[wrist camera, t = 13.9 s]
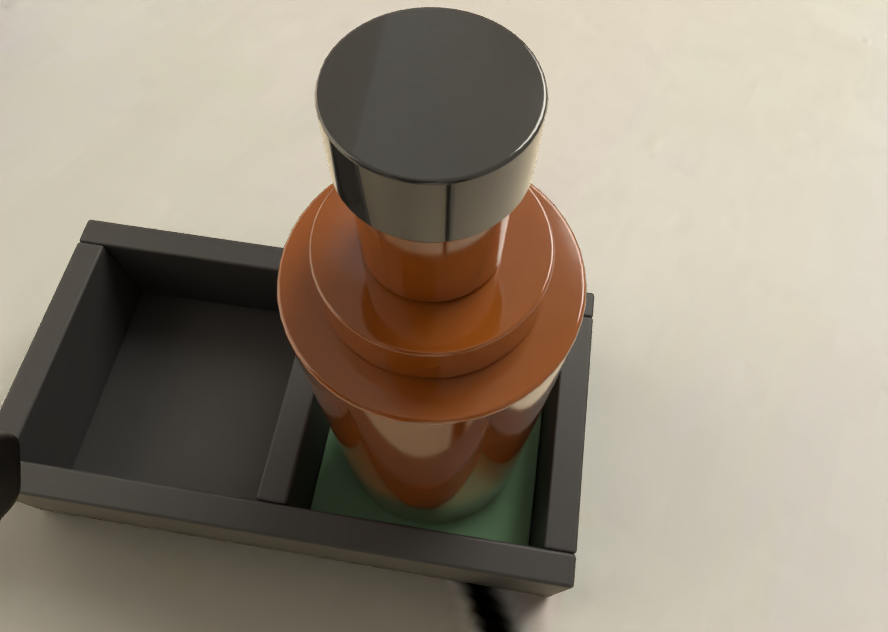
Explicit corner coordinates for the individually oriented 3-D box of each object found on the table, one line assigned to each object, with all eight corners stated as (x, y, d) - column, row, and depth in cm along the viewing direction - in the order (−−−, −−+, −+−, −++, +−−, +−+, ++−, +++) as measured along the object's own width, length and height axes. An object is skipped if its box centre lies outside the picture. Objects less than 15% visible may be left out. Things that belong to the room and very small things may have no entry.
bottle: (550, 476, 20) (765, 178, 7) (388, 557, 19) (292, 381, 6) (470, 331, 22) (524, -108, 9) (320, 396, 21) (138, 7, 8)
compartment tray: (550, 597, 19) (574, 588, 16) (40, 509, 20) (-36, 484, 17) (571, 342, 23) (595, 292, 19) (136, 276, 23) (88, 218, 20)
